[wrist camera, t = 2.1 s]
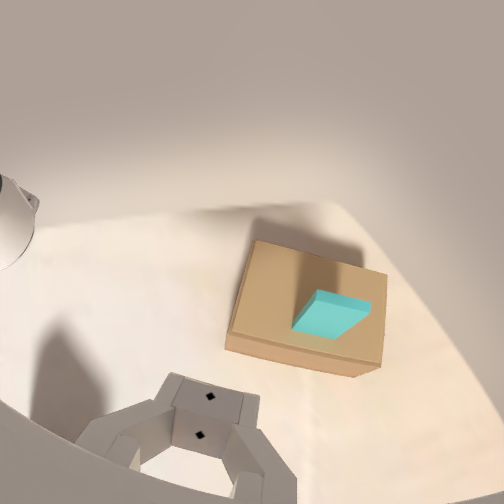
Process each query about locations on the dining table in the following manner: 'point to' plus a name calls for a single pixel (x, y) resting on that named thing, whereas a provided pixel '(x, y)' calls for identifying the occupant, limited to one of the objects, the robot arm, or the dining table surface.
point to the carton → (291, 349)
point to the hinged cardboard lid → (313, 303)
